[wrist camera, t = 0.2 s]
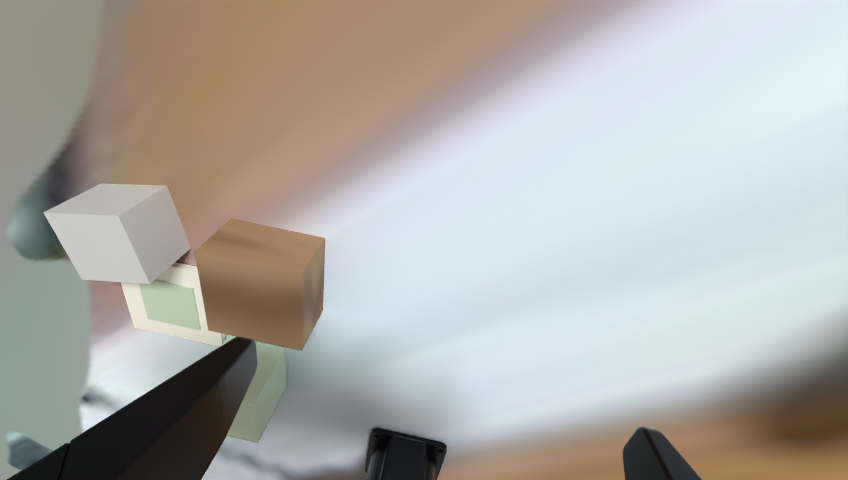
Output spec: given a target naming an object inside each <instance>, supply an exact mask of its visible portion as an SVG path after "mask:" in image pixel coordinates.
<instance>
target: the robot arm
mask: <svg viewBox="0 0 848 480" xmlns="http://www.w3.org/2000/svg"><path fill="white" fill-rule="evenodd" d="M256 369H257V349H256V342H255V340H253V339H250V338H246V337H241V336H238V337H235V338H233V339H232V340H230V341H228V342H227V343H225V344H224V345H222V346H220V347H219V348H217V349H216V350H214V351H212V352H211V353H209V354H208V355H206V356H205V357H203V358H201V359H200V360H198V361H197V362H195V363H193V364H192V365H190V366H189V367H187V368H185V369H184V370H182V371H181V372H179V373H177V374H176V375H174V376H173V377H171V378H169V379H168V380H166V381H165V382H163V383H161V384H160V385H158V386H157V387H155V388H154V389H152V390H150V391H149V392H147V393H146V394H144V395H142V396H141V397H139V398H138V399H136V400H134V401H133V402H131V403H130V404H128V405H126V406H125V407H123V408H122V409H120V410H118V411H117V412H115V413H114V414H112V415H111V416H109V417H107V418H106V419H104V420H103V421H101V422H99V423H98V424H96V425H95V426H93V427H91V428H90V429H88V430H87V431H85V432H83V433H82V434H80V435H79V436H77V437H76V438H74V439H72V440H71V442H70V444H69V443H66V444H64V445H62V446H61V447H59V448H58V449H56V450H54V451H53V452H51V453H50V454H48V455H47V456H45V457H43V458H42V459H40V460H38V461H37V462H35V463H33V464H32V465H30V466H28V467H27V468H25V469H23V470H22V471H20V472H19V473H17V474H15V475H14V476H12V477H10V478H9V479H7V480H201V479H202V477H203V476H204V474H205V472H206V470H207V469H208V467H209V465H210V464H211V462H212V460H213V458H214V457H215V455H216V453H217V452H218V450H219V448H220V446H221V445H222V443H223V441H224V439H225V437H226V436H227V434H228V432H229V429H230V427H231V425H232V423H233V421H234V419H235V416H236V414H237V412H238V410H239V408H240V405H241V403H242V401H243V399H244V397H245V394H246V392H247V390H248V388H249V386H250V383H251V381H252V379H253V377H254V375H255V372H256ZM446 450H447V446H446V445H445V444H444V443H440V442H436V441H431V440H427V439H422V438H418V437H413V436H409V435H405V434H400V433H396V432H391V431H387V430H382V429H378V428H374V429H372V431H371V435H370V442H369V448H368V454H367V460H366V467H365V471H366V472H367V476H366V480H437V478H438V475H439V472H440V469H441V466H442V463H443V460H444V457H445V454H446ZM623 464H624V473H625V480H702V479H701V478H700V477H699V476H698V475H697V473H696V472H695V471H694V470H693V469H692V468H691V466H690V465H689V464H688V463H687V462H686V461H685V459H684V458H683V457H682V456H681V455H680V454H679V452H678V451H677V450H676V449H675V448H674V446H673V445H672V444H671V443H670V442H669V441H668V439H667V438H666V437H665V436H664V435H663V434H662V433H661V432H660V431H658V430H656V429H651V428H647V427H639V428H638V429H637V430H636V431H635V432H634V434H633V435H632V436H631V438H630V439H629V441H628V442H627V443H626V445H625V446H624V449H623Z"/></svg>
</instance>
